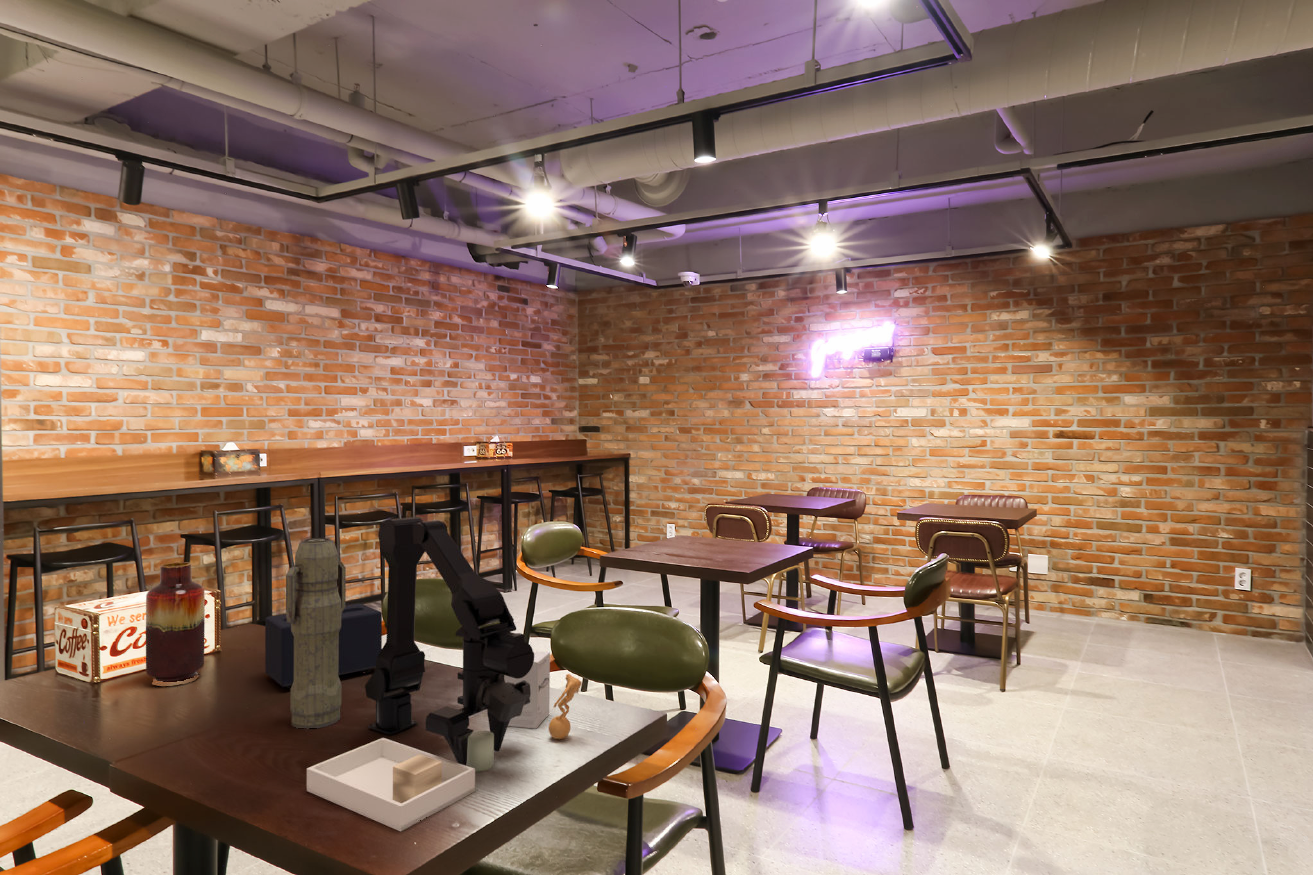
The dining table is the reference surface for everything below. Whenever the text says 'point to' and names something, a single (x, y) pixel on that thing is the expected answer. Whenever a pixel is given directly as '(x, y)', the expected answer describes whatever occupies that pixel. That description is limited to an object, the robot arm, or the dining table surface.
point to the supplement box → (535, 692)
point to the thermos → (315, 632)
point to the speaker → (355, 643)
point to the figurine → (561, 724)
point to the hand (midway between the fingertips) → (480, 758)
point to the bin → (386, 783)
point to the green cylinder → (480, 750)
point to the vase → (175, 625)
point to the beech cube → (415, 777)
